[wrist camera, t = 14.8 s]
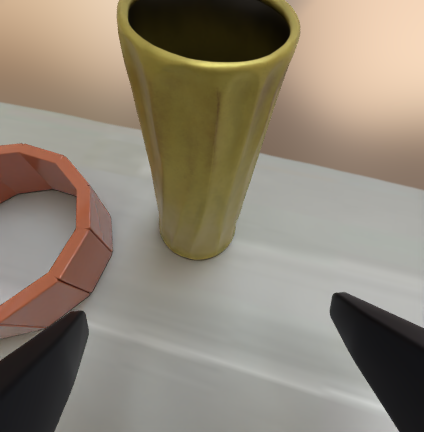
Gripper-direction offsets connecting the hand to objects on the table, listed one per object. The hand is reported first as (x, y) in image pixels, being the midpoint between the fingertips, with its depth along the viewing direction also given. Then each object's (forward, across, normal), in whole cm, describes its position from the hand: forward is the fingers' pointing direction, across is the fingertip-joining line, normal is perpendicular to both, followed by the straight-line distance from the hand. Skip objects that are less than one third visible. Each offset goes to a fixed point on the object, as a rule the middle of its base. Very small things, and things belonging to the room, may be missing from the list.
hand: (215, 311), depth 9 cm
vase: (+11, 0, +1) cm, 11 cm away
